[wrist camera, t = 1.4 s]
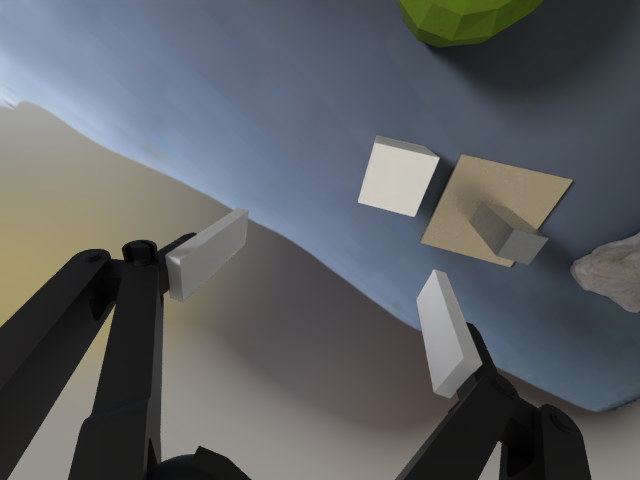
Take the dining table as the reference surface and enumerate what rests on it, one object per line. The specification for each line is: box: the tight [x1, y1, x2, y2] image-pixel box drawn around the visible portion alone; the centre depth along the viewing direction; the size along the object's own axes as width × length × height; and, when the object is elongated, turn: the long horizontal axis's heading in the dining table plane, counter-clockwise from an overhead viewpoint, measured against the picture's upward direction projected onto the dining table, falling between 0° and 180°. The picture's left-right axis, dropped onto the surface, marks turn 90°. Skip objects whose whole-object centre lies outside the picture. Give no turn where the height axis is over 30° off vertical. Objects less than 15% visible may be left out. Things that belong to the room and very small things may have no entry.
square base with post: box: [420, 154, 573, 267], centre depth 27 cm, size 12×12×9 cm
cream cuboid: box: [358, 135, 439, 217], centre depth 27 cm, size 6×6×9 cm
